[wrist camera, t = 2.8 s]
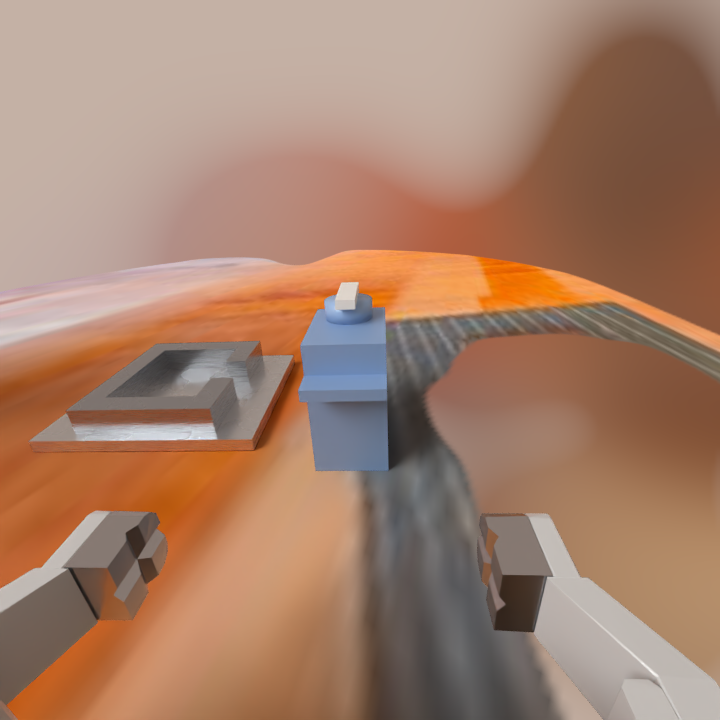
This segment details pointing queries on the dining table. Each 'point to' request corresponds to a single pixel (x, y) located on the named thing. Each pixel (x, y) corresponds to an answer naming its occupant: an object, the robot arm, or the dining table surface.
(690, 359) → the dining table surface
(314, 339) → the servo
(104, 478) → the dining table surface
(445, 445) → the dining table surface
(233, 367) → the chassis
